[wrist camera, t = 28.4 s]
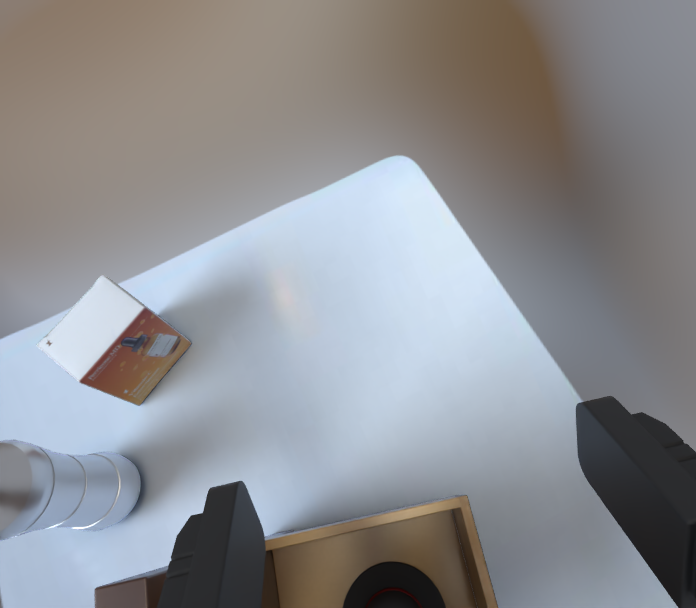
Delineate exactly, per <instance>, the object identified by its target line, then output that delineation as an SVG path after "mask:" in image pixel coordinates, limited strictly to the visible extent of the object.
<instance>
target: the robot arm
mask: <svg viewBox="0 0 696 608" xmlns="http://www.w3.org/2000/svg"><path fill="white" fill-rule="evenodd" d="M576 425H577V446H578V458H579V462H580V465H581V468H582V471H583V473H584V475H585V477H586V479H587V480H588V482H589V483H590V485H591V486H592V488H593V489H594V490H595V492H596V493H597V495H598V496H599V497H600V499H601V500H602V502H603V503H604V504H605V506H606V507H607V508H608V510H609V511H610V513H611V514H612V515H613V517H614V518H615V520H616V521H617V522H618V524H619V525H620V527H621V528H622V529H623V531H624V532H625V534H626V535H627V536H628V538H629V539H630V541H631V542H632V543H633V545H634V546H635V548H636V549H637V550H638V552H639V553H640V555H641V556H642V557H643V559H644V560H645V562H646V563H647V564H648V566H649V567H650V569H651V570H652V571H653V573H654V574H655V576H656V577H657V578H658V580H659V581H660V582H661V584H662V585H663V587H664V588H665V589H666V591H667V592H668V594H669V595H670V596H671V598H672V599H673V601H674V602H675V603H676V605H677V606H678V608H696V452H695V451H694V450H693V449H692V448H691V447H690V446H689V445H688V444H684V442H683V440H682V439H681V438H680V437H679V436H678V435H677V434H676V433H675V432H674V431H672V429H670V428H669V427H668V426H667V425H666V424H665V423H663V422H660V421H658V420H656V419H654V418H652V417H650V416H648V415H646V414H644V413H642V412H641V413H637V414H632V415H631V414H630V413H629V412H628V411H627V410H626V409H625V408H624V407H623V406H622V405H621V404H620V403H619V402H618V401H617V400H616V399H615V398H614V397H612V396H607V397H603V398H599V399H594V400H590V401H586V402H582V403H578V404H577V406H576ZM265 556H266V546H265V537H264V532H263V528H262V525H261V523H260V520H259V518H258V515H257V513H256V510H255V508H254V505H253V503H252V500H251V498H250V495H249V493H248V490H247V488H246V486H245V484H244V483H243V482H242V481H238V482H234V483H229V484H225V485H221V486H216V487H212V488H210V489H209V491H208V494H207V498H206V503H205V507H204V511H203V513H201V514H197V515H192V516H190V518H189V519H188V521H187V522H186V524H185V525H184V527H183V528H182V530H181V531H180V533H179V534H178V535H177V538H176V542H175V545H174V549H173V552H172V556H171V559H172V560H171V561H170V563H169V566H168V570H167V573H166V576H167V578H166V579H165V581H164V584H163V588H162V591H161V595H160V598H159V602H158V605H157V608H261V605H262V592H263V580H264V568H265Z"/></svg>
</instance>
